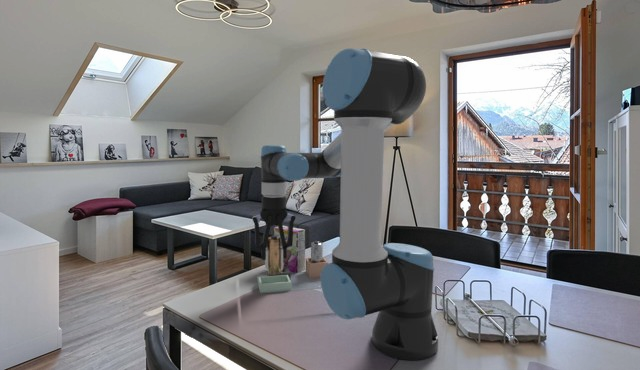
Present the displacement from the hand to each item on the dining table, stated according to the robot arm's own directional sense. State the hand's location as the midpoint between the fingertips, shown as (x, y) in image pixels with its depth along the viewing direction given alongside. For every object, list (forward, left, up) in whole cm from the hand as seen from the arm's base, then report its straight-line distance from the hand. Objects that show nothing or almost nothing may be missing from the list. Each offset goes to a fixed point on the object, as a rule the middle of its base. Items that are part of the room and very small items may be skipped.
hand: (274, 268), depth 118 cm
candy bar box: (+16, -7, -8) cm, 20 cm away
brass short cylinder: (+7, -2, -5) cm, 9 cm away
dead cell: (+8, -16, -6) cm, 19 cm away
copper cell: (0, 0, -1) cm, 1 cm away
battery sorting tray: (+4, -7, -7) cm, 11 cm away
